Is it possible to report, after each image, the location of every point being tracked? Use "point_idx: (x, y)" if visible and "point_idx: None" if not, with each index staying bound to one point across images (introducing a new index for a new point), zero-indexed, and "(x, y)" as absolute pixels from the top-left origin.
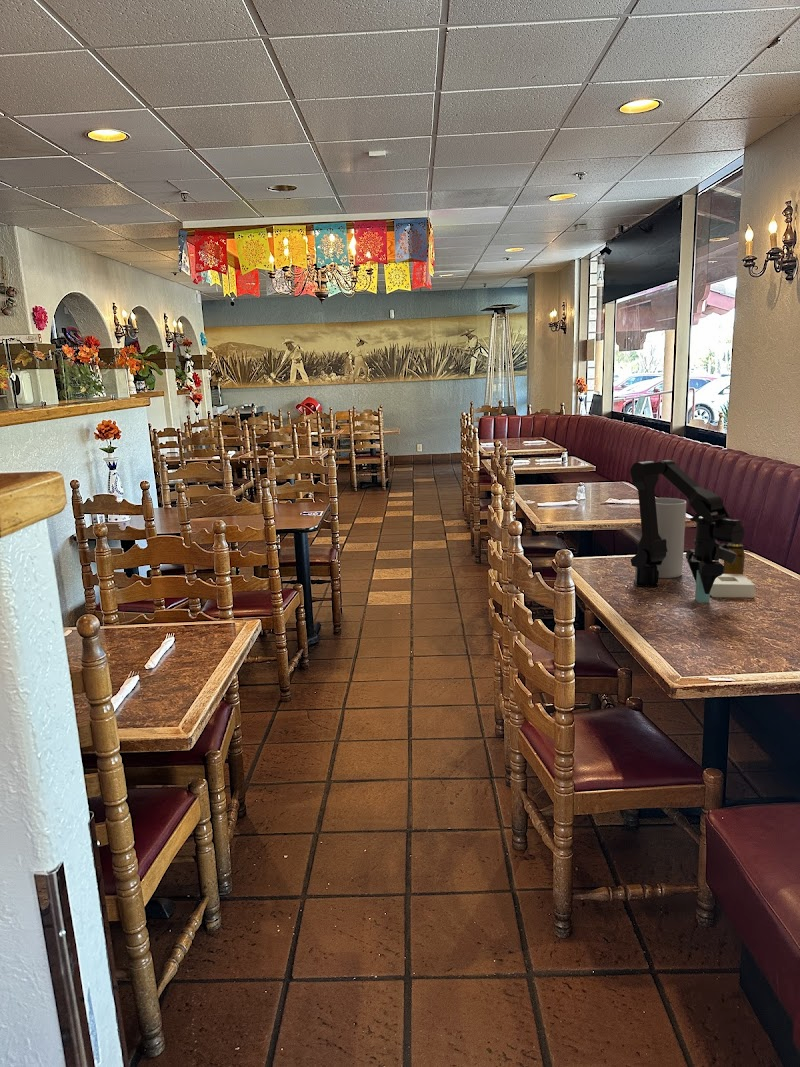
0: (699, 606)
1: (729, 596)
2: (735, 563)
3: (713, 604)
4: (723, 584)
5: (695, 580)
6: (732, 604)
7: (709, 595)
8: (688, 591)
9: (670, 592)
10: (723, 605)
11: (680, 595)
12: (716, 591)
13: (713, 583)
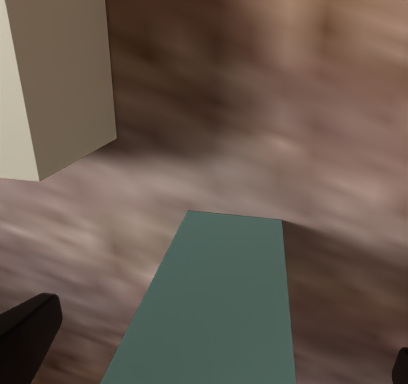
0: (379, 323)
1: None
2: None
3: (341, 206)
4: (13, 30)
5: (33, 378)
6: (369, 12)
7: (283, 258)
8: (3, 257)
9: (53, 358)
10: (388, 127)
11: (108, 333)
12: (87, 113)
13: (4, 165)
